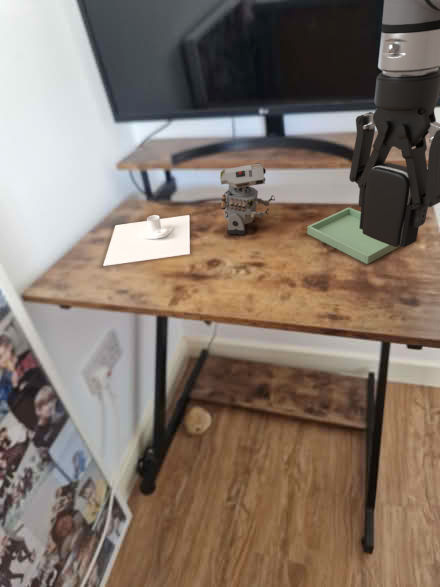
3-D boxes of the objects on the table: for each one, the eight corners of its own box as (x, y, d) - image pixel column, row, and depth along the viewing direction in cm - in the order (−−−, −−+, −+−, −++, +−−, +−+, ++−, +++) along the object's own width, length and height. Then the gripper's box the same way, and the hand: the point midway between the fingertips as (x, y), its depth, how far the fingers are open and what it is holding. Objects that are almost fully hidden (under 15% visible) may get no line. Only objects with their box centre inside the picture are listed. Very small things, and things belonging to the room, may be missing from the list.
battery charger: (413, 240, 62) (427, 167, 55) (397, 250, 60) (409, 176, 53) (375, 226, 67) (383, 157, 60) (360, 234, 65) (366, 165, 58)
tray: (410, 240, 85) (412, 232, 84) (367, 264, 80) (368, 256, 79) (348, 214, 97) (349, 207, 96) (307, 233, 92) (307, 226, 91)
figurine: (268, 237, 93) (265, 174, 84) (221, 235, 96) (213, 174, 87) (275, 218, 100) (273, 158, 91) (231, 217, 103) (224, 159, 94)
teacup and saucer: (172, 239, 98) (168, 224, 95) (139, 244, 98) (135, 229, 95) (173, 222, 105) (170, 208, 102) (142, 227, 105) (139, 212, 102)
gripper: (328, 71, 55) (323, 222, 69) (471, 82, 41) (429, 269, 55) (366, 60, 58) (354, 207, 72) (512, 67, 44) (462, 249, 57)
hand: (386, 234), depth 63 cm, fingers closed on battery charger, 7 cm apart
